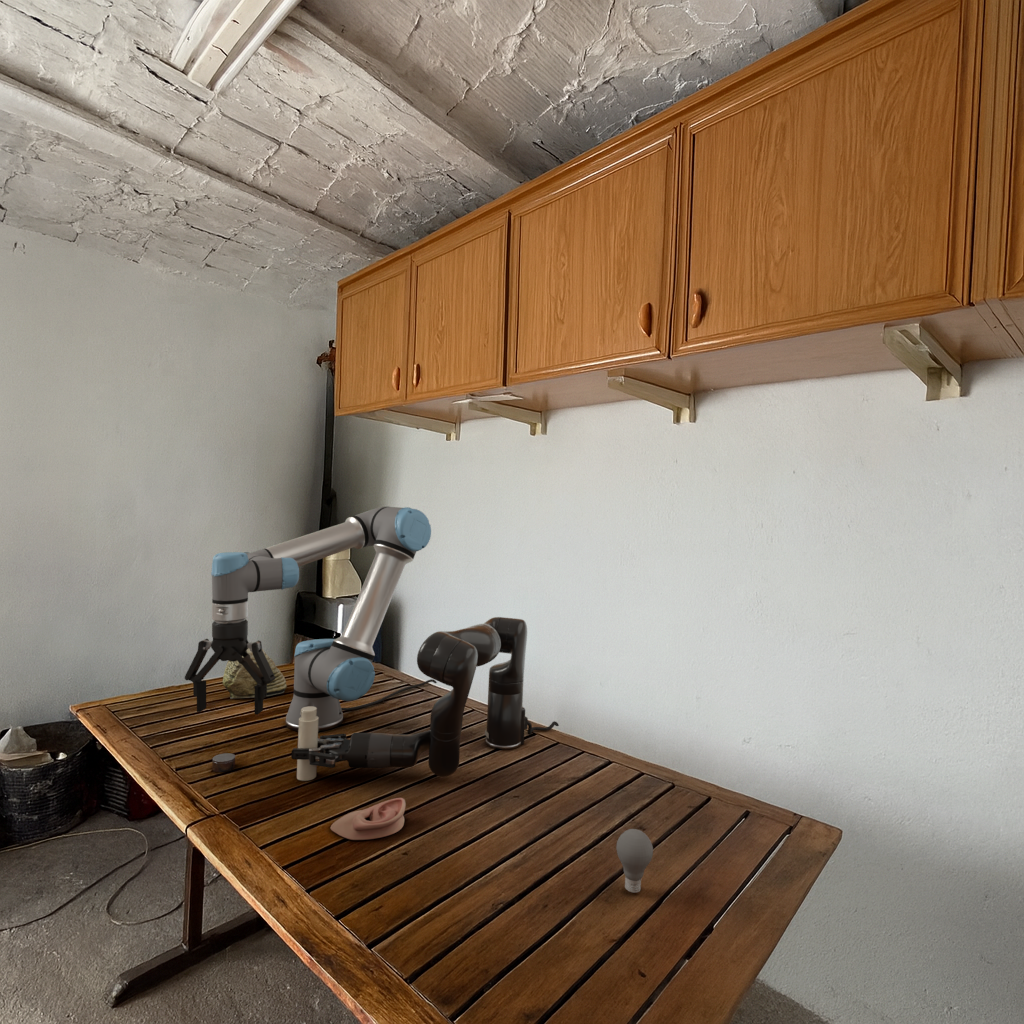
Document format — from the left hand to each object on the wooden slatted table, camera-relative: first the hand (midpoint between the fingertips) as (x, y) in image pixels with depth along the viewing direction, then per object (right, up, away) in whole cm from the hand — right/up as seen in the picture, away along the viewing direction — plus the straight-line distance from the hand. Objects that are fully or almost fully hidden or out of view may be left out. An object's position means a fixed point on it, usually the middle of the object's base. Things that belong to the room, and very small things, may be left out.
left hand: (230, 711), depth 146 cm
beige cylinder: (+19, -14, -3) cm, 23 cm away
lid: (-1, -11, -1) cm, 11 cm away
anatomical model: (+37, -15, -24) cm, 47 cm away
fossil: (-16, -11, +52) cm, 55 cm away
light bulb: (+85, -17, -40) cm, 96 cm away
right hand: (+16, -7, -4) cm, 18 cm away
